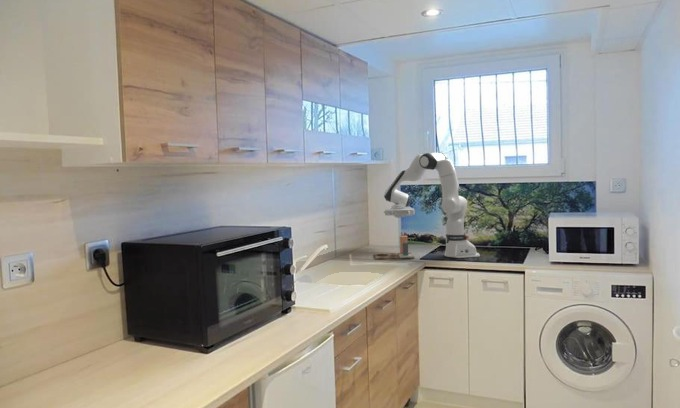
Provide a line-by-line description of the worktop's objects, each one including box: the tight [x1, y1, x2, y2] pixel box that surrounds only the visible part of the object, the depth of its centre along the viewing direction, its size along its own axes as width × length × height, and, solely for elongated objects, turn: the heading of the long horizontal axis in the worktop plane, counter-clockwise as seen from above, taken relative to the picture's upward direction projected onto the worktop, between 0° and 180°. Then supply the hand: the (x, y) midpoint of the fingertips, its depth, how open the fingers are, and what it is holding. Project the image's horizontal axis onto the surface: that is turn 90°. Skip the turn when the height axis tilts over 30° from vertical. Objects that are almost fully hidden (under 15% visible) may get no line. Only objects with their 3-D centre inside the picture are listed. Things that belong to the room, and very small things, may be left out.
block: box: [399, 235, 409, 254], centre depth 329 cm, size 4×4×13 cm
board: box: [373, 251, 415, 261], centre depth 327 cm, size 24×18×2 cm
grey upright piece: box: [399, 241, 414, 258], centre depth 320 cm, size 8×8×9 cm
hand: (400, 213), depth 339 cm, fingers open, 8 cm apart
